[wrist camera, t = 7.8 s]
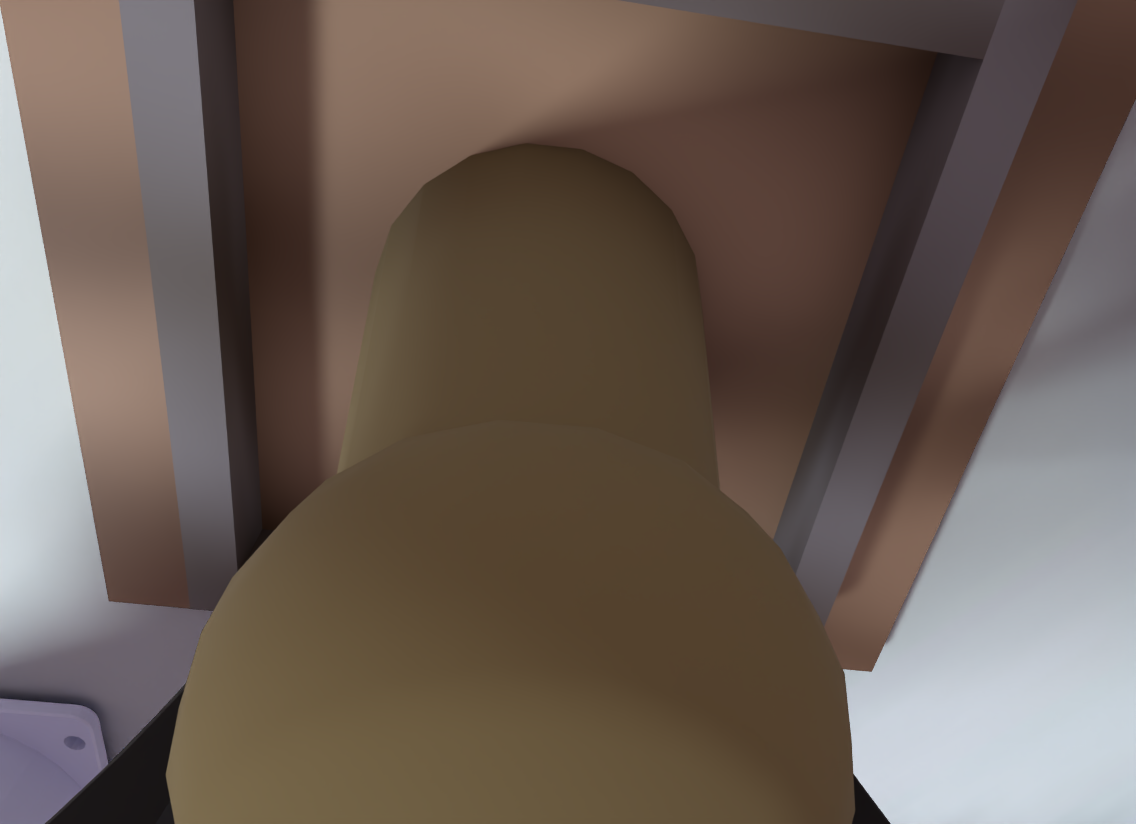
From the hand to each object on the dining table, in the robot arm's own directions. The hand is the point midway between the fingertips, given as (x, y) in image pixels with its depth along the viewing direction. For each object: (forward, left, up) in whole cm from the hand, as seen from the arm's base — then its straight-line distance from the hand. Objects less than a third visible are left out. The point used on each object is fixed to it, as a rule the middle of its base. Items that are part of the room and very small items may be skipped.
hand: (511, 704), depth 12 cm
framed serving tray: (+4, 0, -6) cm, 7 cm away
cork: (+4, 0, -6) cm, 7 cm away
